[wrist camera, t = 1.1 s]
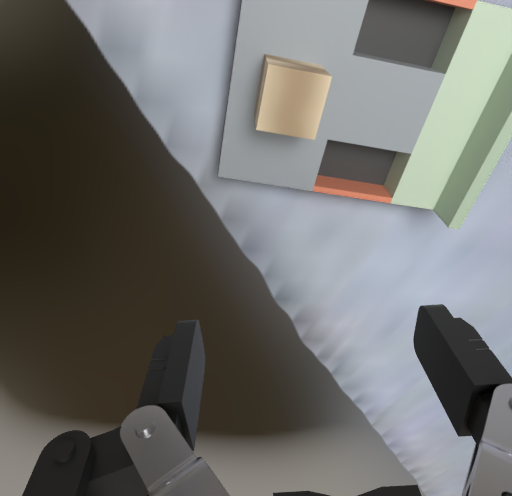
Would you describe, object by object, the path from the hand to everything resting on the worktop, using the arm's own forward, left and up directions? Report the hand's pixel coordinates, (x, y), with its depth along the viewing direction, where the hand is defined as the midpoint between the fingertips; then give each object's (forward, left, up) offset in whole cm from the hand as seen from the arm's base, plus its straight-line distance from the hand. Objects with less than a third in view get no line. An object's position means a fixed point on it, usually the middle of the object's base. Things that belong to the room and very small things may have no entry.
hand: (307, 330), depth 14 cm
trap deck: (+6, +4, -22) cm, 24 cm away
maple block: (0, +4, -19) cm, 20 cm away
